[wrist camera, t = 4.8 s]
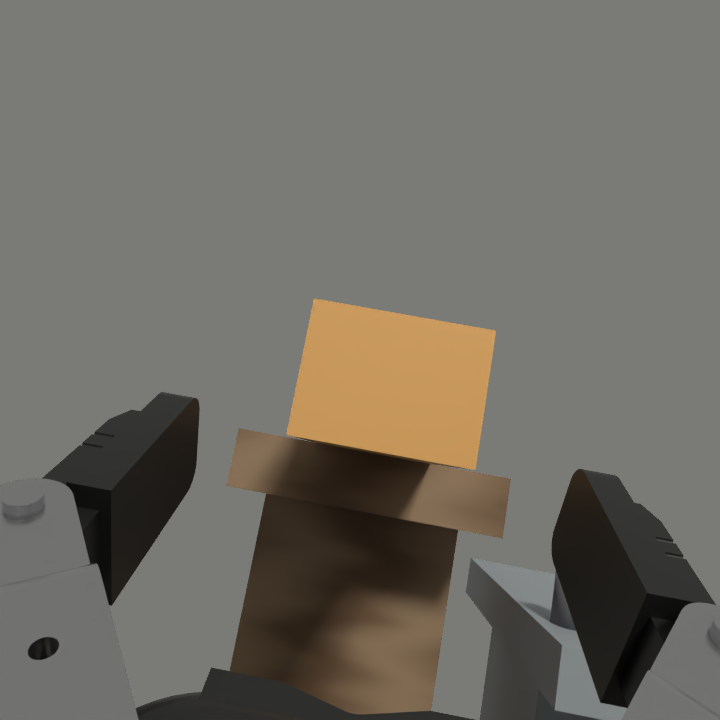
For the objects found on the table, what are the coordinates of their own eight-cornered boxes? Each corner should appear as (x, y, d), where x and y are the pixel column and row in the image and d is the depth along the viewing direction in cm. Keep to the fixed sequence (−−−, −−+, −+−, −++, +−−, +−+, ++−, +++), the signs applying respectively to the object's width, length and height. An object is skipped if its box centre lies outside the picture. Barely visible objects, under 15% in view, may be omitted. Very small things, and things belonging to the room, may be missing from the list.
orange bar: (402, 460, 33) (411, 410, 34) (475, 470, 12) (496, 330, 12) (336, 447, 34) (345, 398, 34) (286, 434, 12) (314, 298, 12)
